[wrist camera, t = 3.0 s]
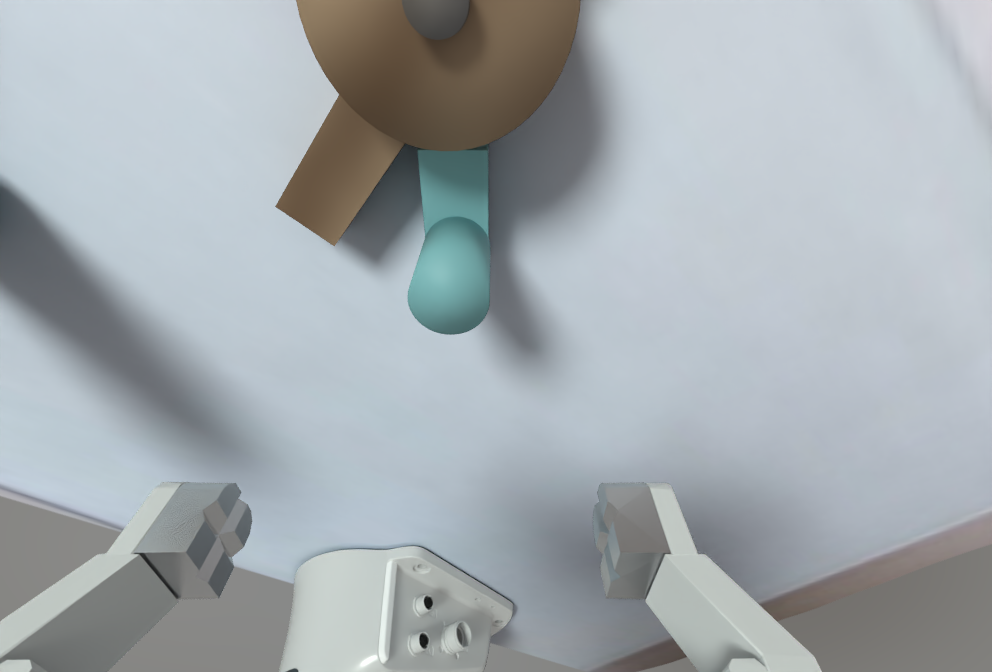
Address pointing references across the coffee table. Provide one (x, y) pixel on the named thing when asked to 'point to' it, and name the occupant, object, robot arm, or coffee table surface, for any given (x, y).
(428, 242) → the teal crank handle
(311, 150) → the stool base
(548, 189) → the coffee table surface
